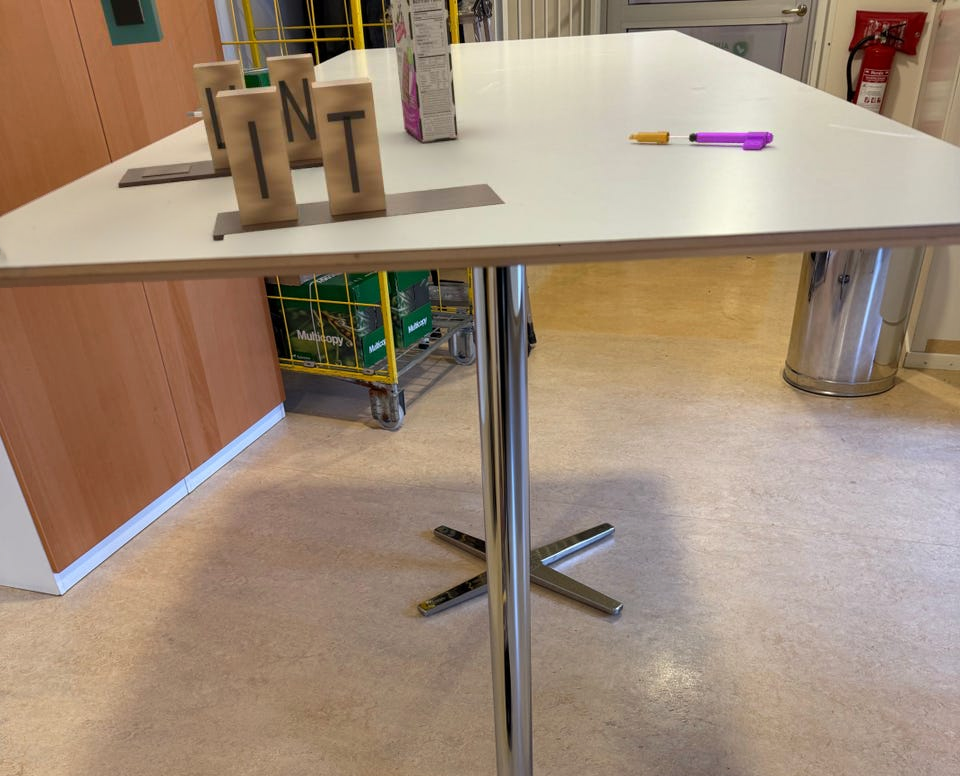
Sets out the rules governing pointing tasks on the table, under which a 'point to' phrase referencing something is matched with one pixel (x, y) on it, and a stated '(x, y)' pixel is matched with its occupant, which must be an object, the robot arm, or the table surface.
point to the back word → (210, 78)
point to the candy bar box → (425, 68)
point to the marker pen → (710, 138)
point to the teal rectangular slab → (134, 33)
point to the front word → (345, 161)
